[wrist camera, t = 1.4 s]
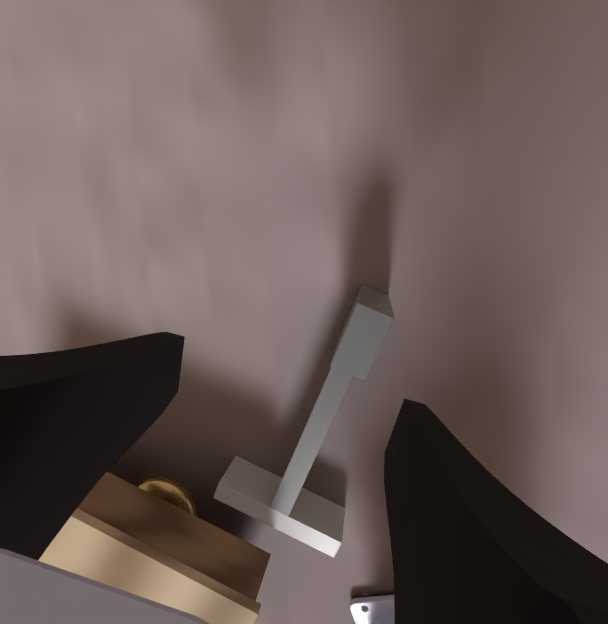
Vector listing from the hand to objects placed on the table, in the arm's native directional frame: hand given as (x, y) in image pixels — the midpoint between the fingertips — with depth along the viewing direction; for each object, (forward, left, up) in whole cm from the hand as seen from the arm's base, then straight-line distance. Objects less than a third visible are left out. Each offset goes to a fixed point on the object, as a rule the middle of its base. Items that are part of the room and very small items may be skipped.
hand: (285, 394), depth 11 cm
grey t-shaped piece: (+2, +5, -10) cm, 11 cm away
